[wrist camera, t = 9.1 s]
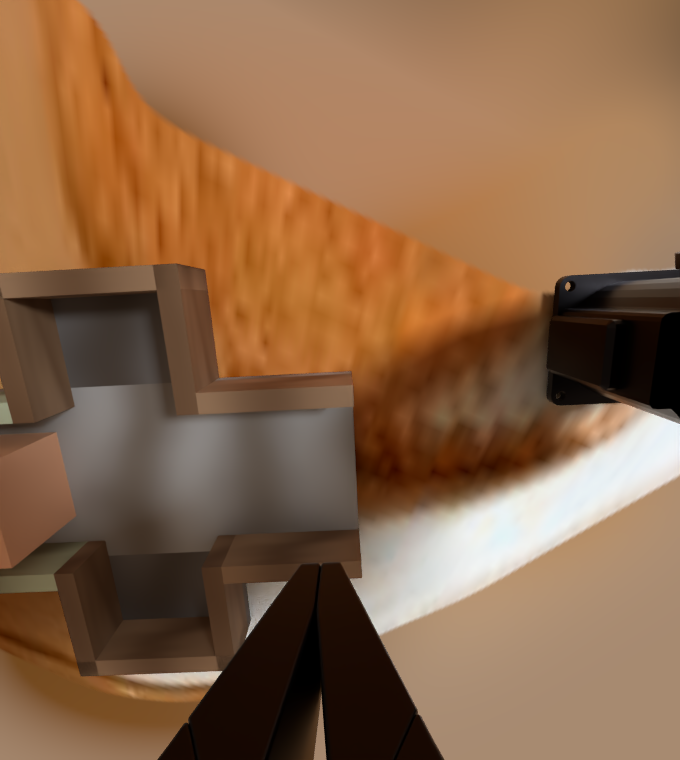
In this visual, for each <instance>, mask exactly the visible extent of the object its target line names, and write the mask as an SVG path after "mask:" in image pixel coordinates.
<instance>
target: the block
mask: <svg viewBox="0 0 680 760" xmlns="http://www.w3.org/2000/svg"><path fill="white" fill-rule="evenodd" d="M74 517H76V512H75V508H74V504H73V500H72V495H71V491H70V487H69V483H68V479H67V474H66V470H65V466H64V462H63V458H62V453H61V449H60V445H59V441H58V437H57V432H46V433H25V434H3V435H0V569H7V568H13V567H14V566H16V565H17V564H18V563H19V562H20V561H22V560H23V559H24V558H25V557H27V556H28V555H29V554H30V553H31V552H33V551H34V550H35V549H36V548H38V547H39V546H40V545H41V544H43V543H44V542H45V541H46V540H47V539H49V538H50V537H51V536H52V535H54V534H55V533H56V532H57V531H58V530H60V529H61V528H62V527H63V526H65V525H66V524H67V523H68V522H69V521H71V520H72V519H73V518H74Z"/></svg>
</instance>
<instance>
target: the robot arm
mask: <svg viewBox="0 0 680 760" xmlns="http://www.w3.org/2000/svg"><path fill="white" fill-rule="evenodd" d="M675 268H676V269H680V252H677V253H675ZM567 282H569V283H570V286H571V287H570V289H569V290H568V291H567V290H566V289H565V285H566V283H567ZM547 369H548V370H549V372H548V385H547V398H548V400H549V401H550V402H552V403H554V404H556V405H579V404H599V403H619V402H621V403H624V404H627V405H630V406H632V407H635V408H638V409H641V410H643V411H646V412H649V413H652V414H654V415H657V416H660V417H662V418H665V419H668V420H671V421H673V422H676V423H679V424H680V270H663V271H644V272H626V273H608V274H589V275H571V276H564V277H562V278H560V279H559V280H558V281H557V283H556V286H555V295H554V308H553V318H552V319H551V321H550V327H549V340H548V353H547ZM558 392H561V396H560V397H559V398H557V399H556V394H557V393H558ZM321 693H322V705H323V719H324V733H325V746H326V759H327V760H444V758H443V756H442V755H441V753H440V751H439V749H438V748H437V746H436V744H435V742H434V740H433V738H432V736H431V735H430V733H429V731H428V729H427V727H426V725H425V723H424V721H423V719H422V717H421V716H420V715H418V711H417V708H416V706H415V704H414V702H413V701H412V699H411V697H410V695H409V693H408V691H407V689H406V687H405V685H404V683H403V681H402V679H401V677H400V675H399V674H398V672H397V670H396V668H395V666H394V664H393V662H392V660H391V659H390V656H389V654H388V652H387V651H386V649H385V647H384V645H383V643H382V641H381V639H380V637H379V635H378V633H377V631H376V629H375V627H374V625H373V624H372V622H371V620H370V618H369V616H368V614H367V612H366V610H365V608H364V606H363V604H362V602H361V600H360V599H359V597H358V595H357V593H356V591H355V589H354V587H353V585H352V583H351V581H350V579H349V577H348V575H347V574H346V572H345V570H344V568H343V566H342V564H341V563H340V562H324V563H322V565H320V564H319V563H303V564H301V565H300V566H299V567H298V568H297V570H296V571H295V573H294V574H293V575H292V577H291V578H290V579H289V581H288V582H287V584H286V585H285V586H284V588H283V589H282V590H281V592H280V593H279V595H278V596H277V597H276V599H275V600H274V601H273V603H272V604H271V606H270V607H269V608H268V610H267V611H266V612H265V614H264V615H263V617H262V618H261V619H260V621H259V622H258V623H257V625H256V626H255V627H254V629H253V630H252V632H251V633H250V634H249V636H248V637H247V638H246V640H245V641H244V643H243V644H242V645H241V647H240V648H239V649H238V651H237V652H236V654H235V655H234V656H233V658H232V659H231V660H230V662H229V663H228V665H227V666H226V667H225V669H224V670H223V671H222V673H221V674H220V676H219V677H218V678H217V680H216V681H215V682H214V684H213V685H212V686H211V688H210V689H209V691H208V692H207V693H206V695H205V696H204V697H203V699H202V700H201V702H200V703H199V704H198V706H197V707H196V708H195V710H194V711H193V713H192V714H191V715H190V717H189V719H188V722H189V724H188V723H185V724H184V725H183V726H182V727H181V729H180V730H179V731H178V733H177V734H176V736H175V737H174V738H173V740H172V741H171V742H170V744H169V745H168V747H167V748H166V749H165V751H164V752H163V753H162V754H161V756H160V757H159V758H158V760H313V759H314V751H315V743H316V735H317V726H318V717H319V710H320V700H321Z"/></svg>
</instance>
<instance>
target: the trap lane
mask: <svg viewBox="0 0 680 760" xmlns="http://www.w3.org/2000/svg"><path fill="white" fill-rule="evenodd" d="M0 377H1V381H2V385H3V388H4V389H0V435H3V434H25V433H46V432H57V437H58V441H59V445H60V449H61V453H62V458H63V462H64V466H65V470H66V474H67V479H68V483H69V487H70V491H71V495H72V500H73V504H74V508H75V512H76V517H74V518H73V519H72V520H71V521H69V522H68V523H67V524H66V525H65V526H63V527H62V528H61V529H60V530H58V531H57V532H56V533H55V534H54V535H52V536H51V537H50V538H49V539H47V540H46V541H45V542H44V543H43V544H41V545H40V546H39V547H38V548H36V549H35V550H34V551H33V552H31V553H30V554H29V555H28V556H27V557H25V558H24V559H23V560H22V561H20V562H19V563H18V564H17V565H16V566H14V567H13V568H7V569H0V593H23V592H47V591H58V593H59V597H60V601H61V604H62V608H63V612H64V615H65V619H66V623H67V627H68V630H69V634H70V638H71V642H72V645H73V649H74V653H75V656H76V660H77V664H78V668H79V671H80V675H81V676H104V675H130V674H155V673H181V672H207V671H223V670H224V669H225V667H226V666H227V665H228V663H229V662H230V660H231V659H232V658H233V656H234V655H235V654H236V652H237V651H238V649H239V648H240V647H241V645H242V644H243V643H244V641H245V638H246V635H247V631H248V627H249V624H250V620H251V619H250V611H249V604H248V596H247V588H246V583H257V582H281V581H289V579H290V578H291V577H292V575H293V574H294V573H295V571H296V570H297V568H298V567H299V566H300V565H301V564H303V563H319V564H320V565H322V563H324V562H340V563H341V564H342V566H343V568H344V570H345V572H346V574H347V575H348V577H349V579H351V578H362V569H361V553H360V540H359V525H358V504H357V482H356V461H355V439H354V418H353V407H354V395H353V381H352V374H351V371H348V372H328V373H309V374H289V375H270V376H250V377H230V378H219V374H218V366H217V359H216V351H215V343H214V336H213V328H212V320H211V313H210V305H209V297H208V290H207V282H206V274H205V270H203V269H199V268H194V267H190V266H185V265H181V264H161V265H143V266H125V267H107V268H89V269H72V270H54V271H36V272H18V273H0Z"/></svg>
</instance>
